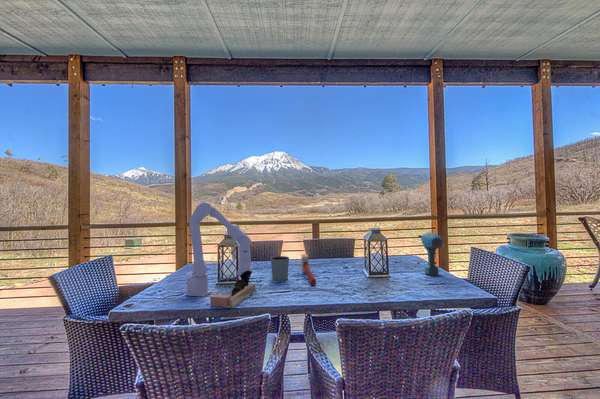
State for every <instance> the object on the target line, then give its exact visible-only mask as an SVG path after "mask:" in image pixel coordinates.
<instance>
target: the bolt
mask: <svg viewBox="0 0 600 399" xmlns="http://www.w3.org/2000/svg"><path fill="white" fill-rule="evenodd" d="M246 287H247V286H246V282H245V281H244V280H243V279H241V278H239V279H236V282H235V283H234V287H233V288H232V290H231V297H232V296H234V295H235V294H237V293H238V292H240V291H241V290H243V289H244V288H246Z"/></svg>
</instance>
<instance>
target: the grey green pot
mask: <svg viewBox="0 0 600 399" xmlns="http://www.w3.org/2000/svg"><path fill="white" fill-rule="evenodd" d="M289 264H290V257H289V256H284V255H283V256H281V255H279V256H278V255H276V256H272V257H270V266H271V280H272V281H273V282H280V283H281V282H286V281H287V280H288V279H289Z"/></svg>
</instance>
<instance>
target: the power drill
mask: <svg viewBox="0 0 600 399" xmlns="http://www.w3.org/2000/svg"><path fill="white" fill-rule="evenodd" d="M418 238H420V240H421V244H422V245H423V247H424V249H425V250H426V252H427V265H425V266H424V274H425V275H427V276H431V277H432V276H439V268H440V267H439V266H437V265H436V252H437V250H438V249H439V248H441V247H442V246H443V239H442V237H441V236H440V235H438V234H437V233H434V232H425V233H423V234H422V235H421V234H418Z"/></svg>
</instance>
